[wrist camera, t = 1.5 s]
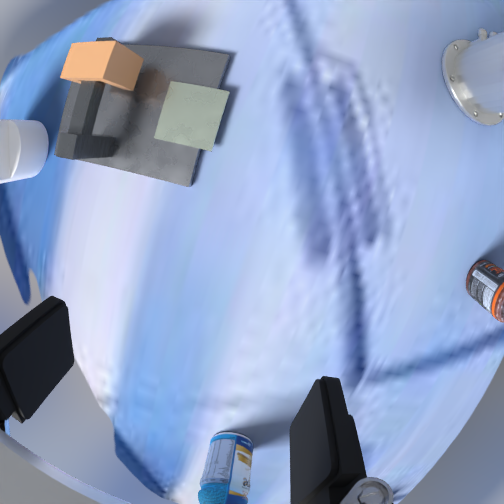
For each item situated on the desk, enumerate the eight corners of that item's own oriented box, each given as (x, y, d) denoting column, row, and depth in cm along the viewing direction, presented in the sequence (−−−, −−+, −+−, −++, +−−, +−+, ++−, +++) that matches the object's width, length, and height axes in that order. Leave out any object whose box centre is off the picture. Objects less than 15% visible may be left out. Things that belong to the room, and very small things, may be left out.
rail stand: (88, 47, 27) (48, 30, 18) (242, 60, 27) (231, 28, 19) (58, 154, 32) (14, 158, 23) (203, 189, 32) (178, 200, 24)
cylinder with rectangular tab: (50, 171, 33) (-11, 182, 22) (16, 182, 34) (-38, 195, 22) (48, 113, 30) (-12, 109, 19) (14, 129, 31) (-41, 132, 20)
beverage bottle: (216, 425, 45) (194, 519, 26) (260, 436, 45) (252, 530, 26) (206, 446, 47) (186, 529, 28) (246, 456, 48) (236, 539, 29)
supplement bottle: (495, 259, 32) (541, 289, 21) (485, 295, 33) (526, 331, 23) (469, 257, 32) (518, 289, 21) (459, 295, 34) (501, 335, 23)
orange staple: (103, 57, 25) (72, 43, 19) (144, 58, 25) (116, 40, 19) (93, 87, 26) (59, 77, 20) (133, 90, 26) (102, 78, 20)
